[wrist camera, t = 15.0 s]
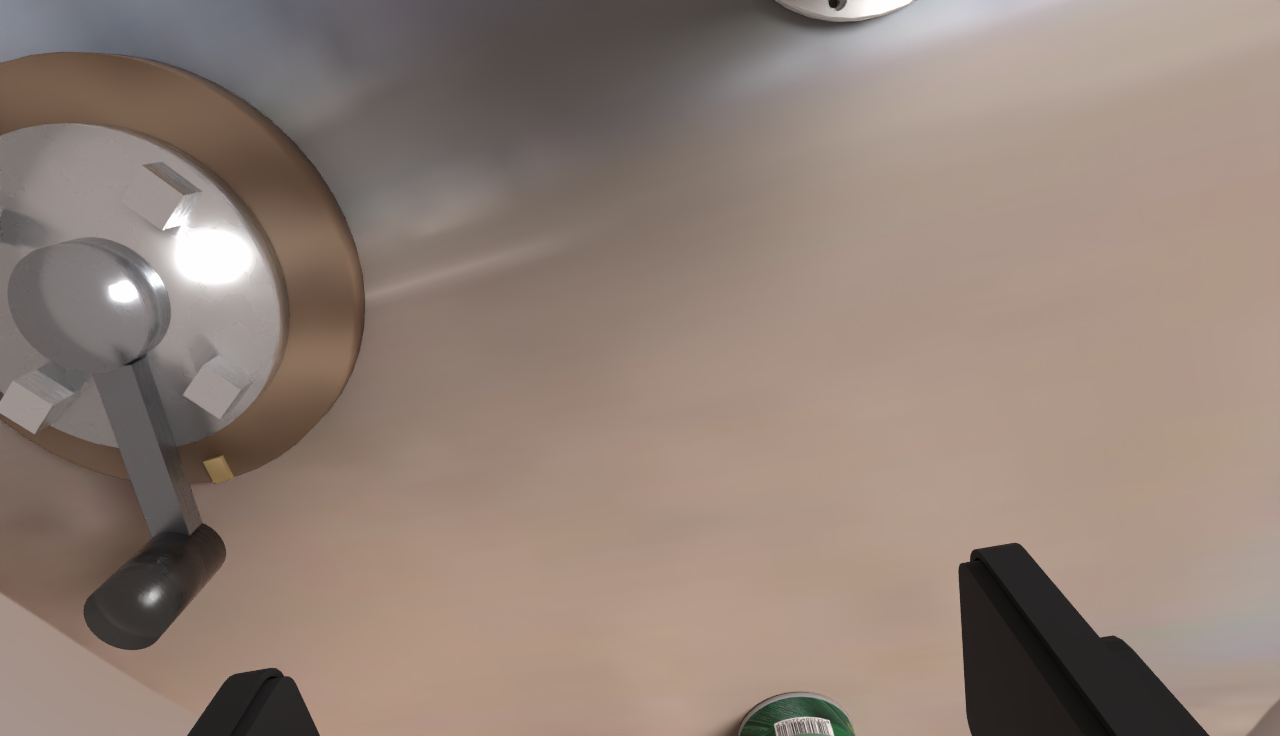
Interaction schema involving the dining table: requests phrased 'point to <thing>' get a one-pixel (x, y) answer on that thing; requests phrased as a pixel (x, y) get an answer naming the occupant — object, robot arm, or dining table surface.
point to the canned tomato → (797, 717)
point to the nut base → (276, 195)
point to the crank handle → (134, 332)
